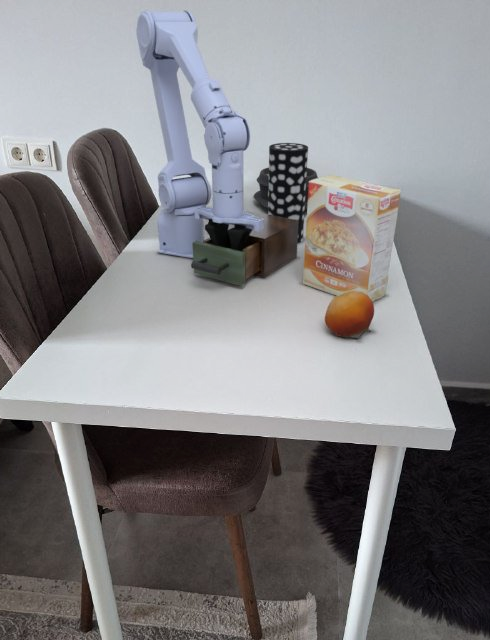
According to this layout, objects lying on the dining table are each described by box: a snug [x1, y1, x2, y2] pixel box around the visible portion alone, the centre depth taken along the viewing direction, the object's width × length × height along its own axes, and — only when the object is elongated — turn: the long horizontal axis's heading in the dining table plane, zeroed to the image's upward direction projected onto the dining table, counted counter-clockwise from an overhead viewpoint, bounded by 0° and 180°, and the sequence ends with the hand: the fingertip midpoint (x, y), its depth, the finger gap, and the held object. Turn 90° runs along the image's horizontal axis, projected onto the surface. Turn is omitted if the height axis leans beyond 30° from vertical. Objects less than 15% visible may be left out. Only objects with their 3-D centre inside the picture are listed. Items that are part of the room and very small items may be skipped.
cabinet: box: [227, 210, 299, 279], centre depth 119 cm, size 14×13×8 cm
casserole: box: [253, 166, 319, 211], centre depth 154 cm, size 25×19×8 cm
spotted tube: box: [267, 142, 309, 244], centre depth 127 cm, size 8×8×20 cm
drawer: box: [190, 235, 262, 287], centre depth 112 cm, size 17×11×6 cm
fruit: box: [324, 291, 375, 340], centre depth 94 cm, size 8×8×8 cm
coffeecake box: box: [302, 174, 402, 303], centre depth 104 cm, size 15×7×20 cm, turn 46°
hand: (229, 260), depth 113 cm, fingers closed on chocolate, 3 cm apart
